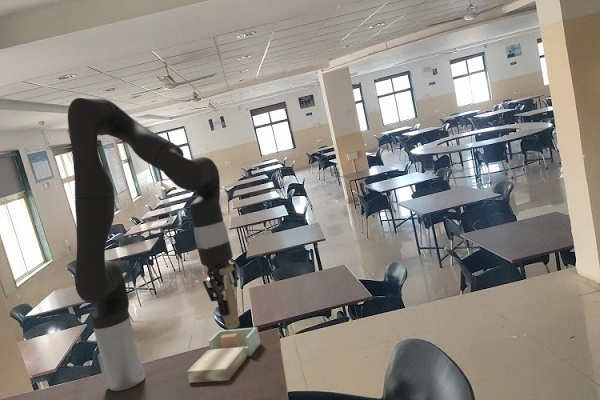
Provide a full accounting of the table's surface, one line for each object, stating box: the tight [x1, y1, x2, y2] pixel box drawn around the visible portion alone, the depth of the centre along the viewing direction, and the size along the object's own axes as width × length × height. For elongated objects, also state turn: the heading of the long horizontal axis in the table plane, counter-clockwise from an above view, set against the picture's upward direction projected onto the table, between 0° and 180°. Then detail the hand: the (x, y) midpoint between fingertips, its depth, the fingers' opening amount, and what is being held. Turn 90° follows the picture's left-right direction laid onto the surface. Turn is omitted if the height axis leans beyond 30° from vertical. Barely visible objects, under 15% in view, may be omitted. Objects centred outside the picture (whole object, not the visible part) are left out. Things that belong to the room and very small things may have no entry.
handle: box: [205, 264, 241, 330], centre depth 121 cm, size 5×6×15 cm
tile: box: [220, 333, 241, 348], centre depth 142 cm, size 4×4×2 cm
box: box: [208, 326, 262, 358], centre depth 142 cm, size 12×8×5 cm, turn 74°
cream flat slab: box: [186, 347, 248, 384], centre depth 132 cm, size 11×12×3 cm
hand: (229, 311), depth 122 cm, fingers closed on handle, 4 cm apart
